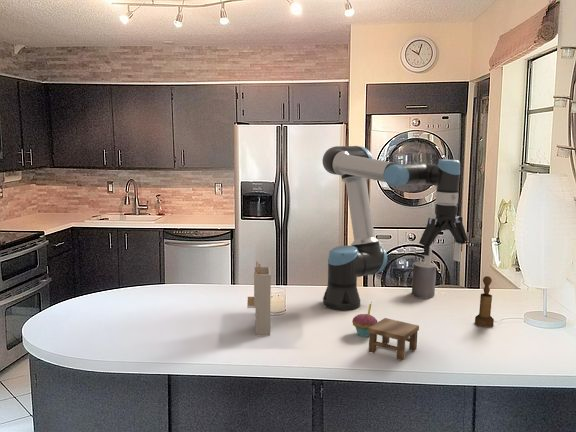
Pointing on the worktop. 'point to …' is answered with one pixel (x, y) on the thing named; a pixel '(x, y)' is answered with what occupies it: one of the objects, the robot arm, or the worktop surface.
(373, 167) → the robot arm
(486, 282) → the brown chess pawn
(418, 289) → the pillar candle
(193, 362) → the worktop surface
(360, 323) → the cupcake
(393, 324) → the walnut stool
